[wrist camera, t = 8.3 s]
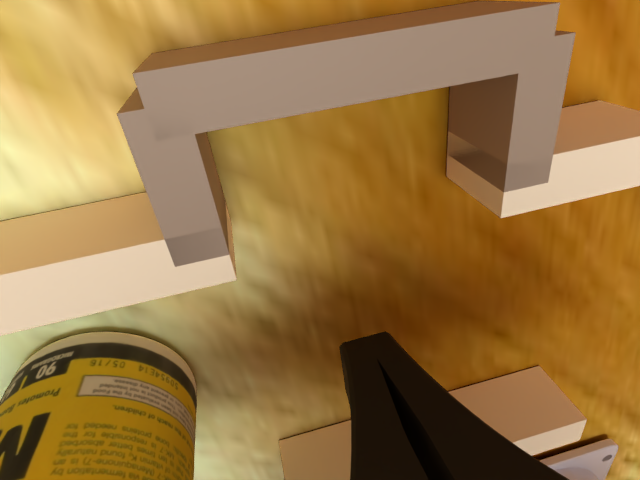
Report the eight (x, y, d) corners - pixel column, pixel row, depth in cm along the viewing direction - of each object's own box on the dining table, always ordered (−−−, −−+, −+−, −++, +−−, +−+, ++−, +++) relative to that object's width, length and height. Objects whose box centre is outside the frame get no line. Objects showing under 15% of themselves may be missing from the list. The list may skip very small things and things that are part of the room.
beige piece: (525, 426, 18) (565, 481, 16) (21, 581, 15) (-7, 669, 13) (628, -24, 9) (744, -28, 7) (-500, 157, 7) (-808, 229, 5)
